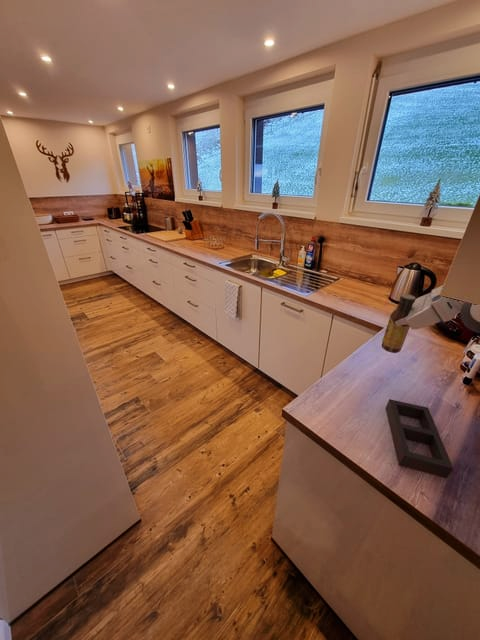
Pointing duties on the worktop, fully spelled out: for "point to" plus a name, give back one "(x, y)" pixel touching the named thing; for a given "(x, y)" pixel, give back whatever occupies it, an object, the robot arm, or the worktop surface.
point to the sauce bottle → (394, 333)
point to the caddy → (417, 439)
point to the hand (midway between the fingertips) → (398, 319)
